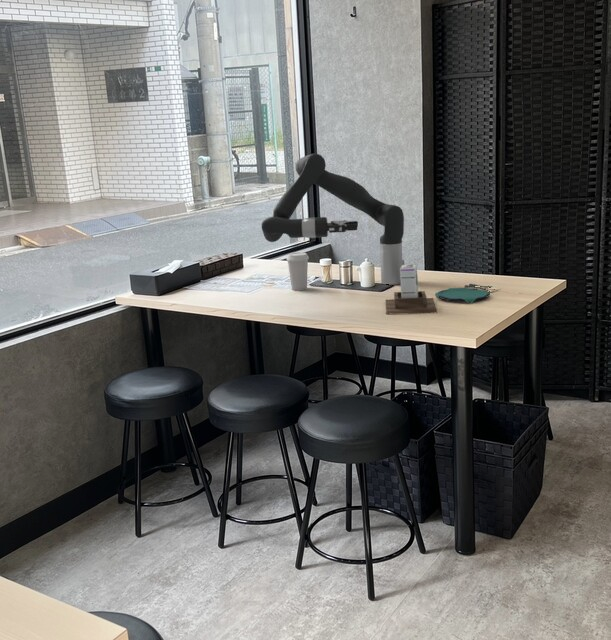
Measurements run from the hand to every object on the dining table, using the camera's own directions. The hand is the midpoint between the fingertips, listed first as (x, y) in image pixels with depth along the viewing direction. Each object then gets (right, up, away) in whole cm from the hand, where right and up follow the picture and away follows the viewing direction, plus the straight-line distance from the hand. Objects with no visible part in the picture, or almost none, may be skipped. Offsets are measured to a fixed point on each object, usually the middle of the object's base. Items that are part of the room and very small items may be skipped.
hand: (357, 225), depth 291 cm
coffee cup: (-22, -22, +39) cm, 50 cm away
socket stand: (+19, -31, -4) cm, 37 cm away
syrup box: (+19, -30, -4) cm, 36 cm away
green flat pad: (+44, -26, +10) cm, 53 cm away
